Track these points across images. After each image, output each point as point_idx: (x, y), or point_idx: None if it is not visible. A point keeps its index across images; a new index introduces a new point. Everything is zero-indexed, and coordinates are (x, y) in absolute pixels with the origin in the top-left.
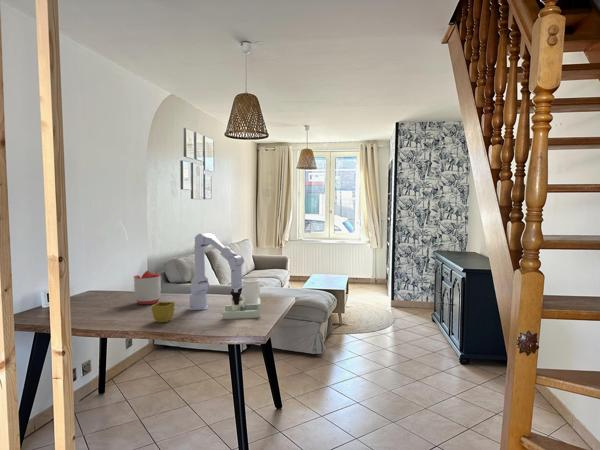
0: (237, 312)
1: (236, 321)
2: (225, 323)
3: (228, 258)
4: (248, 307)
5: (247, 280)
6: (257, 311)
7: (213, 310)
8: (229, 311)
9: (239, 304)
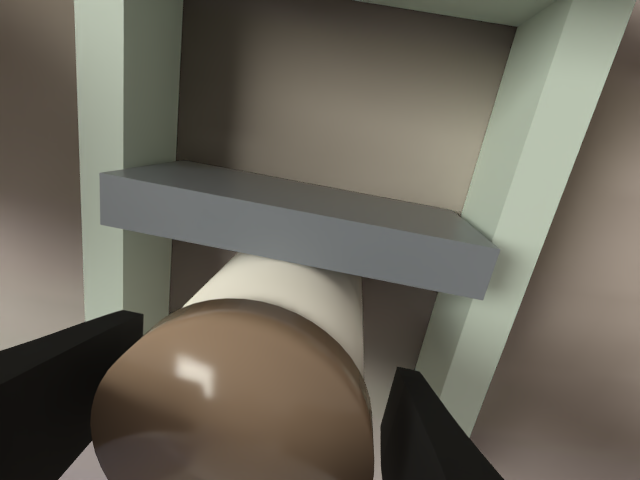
0: (497, 340)
1: (602, 332)
2: (615, 440)
3: None
4: (149, 117)
5: None
6: (626, 1)
7: (77, 459)
8: None
9: (357, 335)
